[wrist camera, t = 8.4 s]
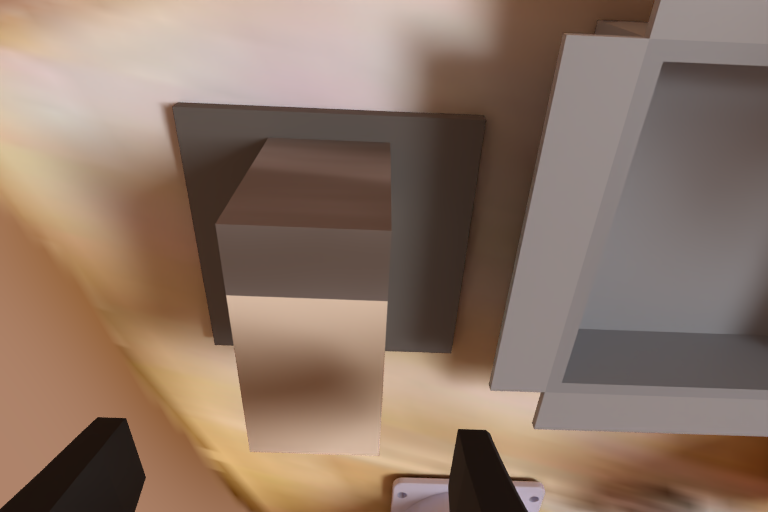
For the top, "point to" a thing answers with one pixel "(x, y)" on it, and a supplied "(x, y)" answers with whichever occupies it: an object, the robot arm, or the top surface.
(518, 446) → the top surface
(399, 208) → the rubber mat
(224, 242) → the maple block
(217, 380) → the top surface
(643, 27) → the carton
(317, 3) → the top surface
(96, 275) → the top surface
